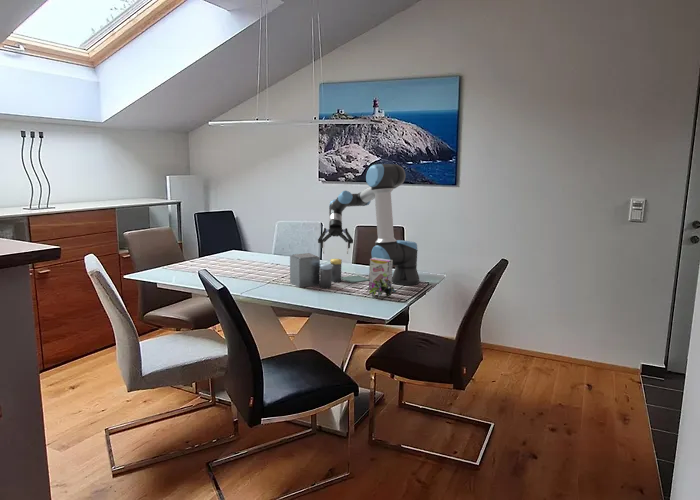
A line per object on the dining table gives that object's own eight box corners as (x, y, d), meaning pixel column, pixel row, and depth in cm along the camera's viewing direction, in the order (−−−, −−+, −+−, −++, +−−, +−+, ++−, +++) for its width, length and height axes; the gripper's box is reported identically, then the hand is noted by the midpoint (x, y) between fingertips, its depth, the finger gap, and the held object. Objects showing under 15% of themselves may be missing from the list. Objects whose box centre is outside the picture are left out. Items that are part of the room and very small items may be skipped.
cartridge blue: (333, 287, 272) (333, 265, 270) (323, 288, 269) (323, 266, 267) (328, 284, 278) (328, 263, 275) (317, 286, 275) (317, 264, 272)
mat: (369, 280, 288) (369, 279, 288) (350, 283, 282) (350, 281, 282) (358, 276, 298) (358, 275, 298) (340, 278, 292) (340, 277, 292)
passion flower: (386, 306, 258) (401, 289, 254) (375, 307, 249) (390, 289, 245) (372, 290, 263) (386, 273, 259) (361, 291, 254) (375, 273, 250)
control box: (319, 284, 277) (319, 256, 274) (299, 287, 271) (299, 258, 268) (309, 280, 288) (309, 252, 285) (289, 282, 282) (289, 254, 279)
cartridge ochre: (343, 281, 285) (343, 260, 283) (333, 282, 282) (333, 261, 280) (338, 279, 291) (338, 258, 289) (328, 280, 288) (328, 259, 286)
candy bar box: (368, 289, 269) (369, 258, 266) (373, 287, 273) (373, 257, 270) (387, 292, 263) (388, 261, 260) (392, 290, 268) (393, 259, 265)
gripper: (356, 226, 310) (357, 256, 298) (314, 226, 309) (313, 255, 297) (356, 219, 304) (357, 248, 291) (314, 218, 303) (313, 248, 291)
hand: (335, 252), depth 294 cm, fingers open, 13 cm apart
